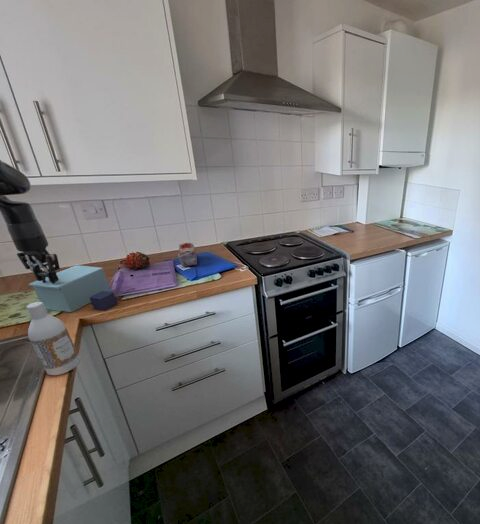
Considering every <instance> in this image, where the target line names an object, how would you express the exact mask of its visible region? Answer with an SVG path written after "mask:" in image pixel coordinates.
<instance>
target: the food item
mask: <svg viewBox="0 0 480 524" xmlns="http://www.w3.org/2000/svg"><path fill="white" fill-rule="evenodd" d="M177 257H178V260H179V263H180V264H181V266H182V267H192V266H193V267H194V266H197V265H198V256H197V251H196V248H195V245H194V243H192V242H183V243H180V244H179V245H178V251H177Z"/></svg>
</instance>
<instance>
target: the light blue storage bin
mask: <svg viewBox="0 0 480 524" xmlns="http://www.w3.org/2000/svg"><path fill="white" fill-rule="evenodd" d="M32 287H33V289H34V291H35V294H36V296H37V298H38V300H39V302H43V304H44V306H45V308H46V310H50V311H51V310H53V311H58V312H67V313H73V312H75V311H77V310H79V309H80V308H83V307H84V306H86V305H88V304H90V303H91V300H90V298H89V297H91V296H93V295H95V294H97V293H99V292H101V291H108V292H112V290H111V287H110V285H109V281H108V279H107V276H106V273H105V270H104V269H103V270H101V271H99V272H96V273H94V274H92V275H90V276H87V277H85V278H83V279H80V280H78V281H76V282H74V283H71V284H69V285H67V286H64V287H62V288H60V289H53V288H45V287H37V286H32Z"/></svg>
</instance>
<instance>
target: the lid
mask: <svg viewBox="0 0 480 524" xmlns="http://www.w3.org/2000/svg"><path fill="white" fill-rule="evenodd" d="M101 270H104V267H98V266H88V265H79V264H76V265H73V266H71V267H68V268H65V269H63V270H60V271H57V272H56V274H57V277H58V279H59V280H58V281H56V282H54V283H52V282H50V280H49V278H48V276H47V274H46V271H43V270H42V271H39V272H37V276H40V277H41V280H42V281H37V280H34V281H32V282H30V283H28V286H30V287H33V286H37V287H45V288H53V289H60V288H62V287H64V286H67V285H69V284H71V283H74V282H76V281H78V280H80V279H83V278H85V277H87V276H90V275H92V274H94V273H96V272H99V271H101ZM44 277H46V279H45V278H44Z"/></svg>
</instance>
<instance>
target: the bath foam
mask: <svg viewBox="0 0 480 524" xmlns="http://www.w3.org/2000/svg"><path fill="white" fill-rule="evenodd" d="M26 309H27V311H28V314H29V316H30V317H31V321H30V323H29V326H28V328H27V336H28V339H29V341H30V343H31V345H32V347H33V349H34V351H35V353H36V355H37V357H38V358H39V360H40V362H41V365H42V367H43V369H44V370H45V372H46V373H47V375H50V376H60V375H63V374H66V373H68V372H70V371H73V370H74V369H76V367H78V366H79V364H80V363H81V358H80V356H79V353H78V351H77V349H76V346H75V344H74V342H73V340H72V337H71V335H70V333H69V330H68V329H67V326H66V325H65V323H64V322H63V321H62V320H61V319H60V318H58V317H56V316H53V315H51V314H50V313H48V311H47V309H46V308H45V306H44V304H43V302H40V301H34V302H31V303H28V305H26Z"/></svg>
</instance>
